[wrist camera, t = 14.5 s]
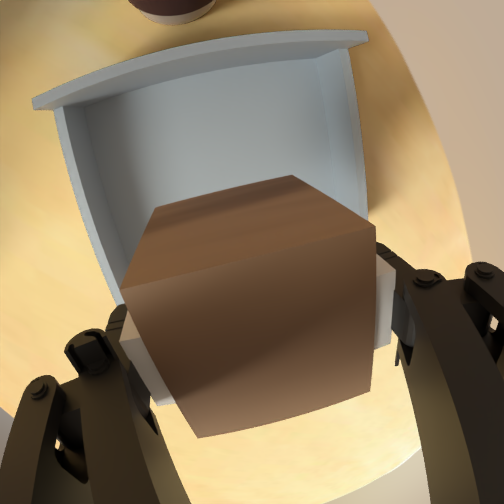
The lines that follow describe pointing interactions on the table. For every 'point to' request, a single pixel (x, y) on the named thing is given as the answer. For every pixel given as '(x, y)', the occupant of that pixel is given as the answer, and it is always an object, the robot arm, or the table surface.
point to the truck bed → (208, 129)
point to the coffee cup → (173, 10)
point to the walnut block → (256, 303)
